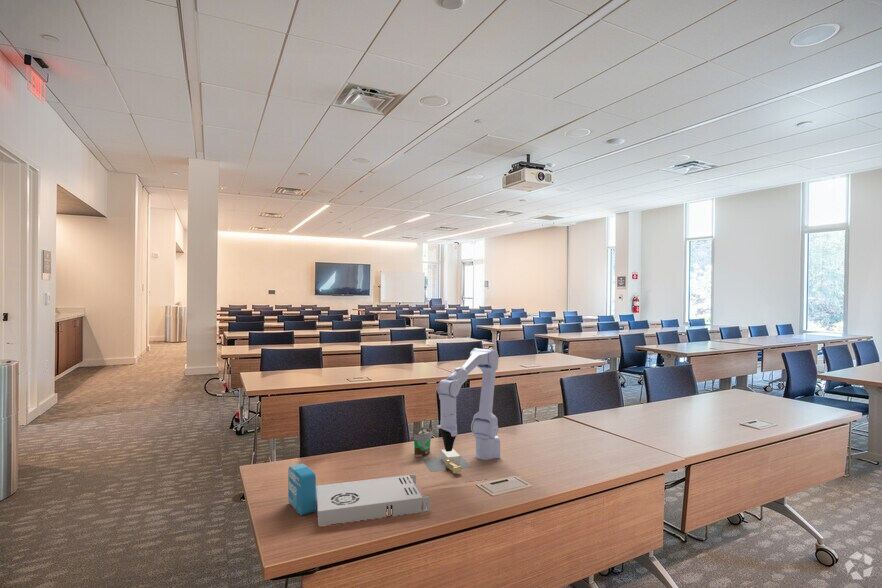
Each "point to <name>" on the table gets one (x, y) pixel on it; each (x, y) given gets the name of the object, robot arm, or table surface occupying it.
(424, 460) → the base plate
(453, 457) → the white rectangular block
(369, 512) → the power supply unit
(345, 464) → the table surface
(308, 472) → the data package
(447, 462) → the brass T-key
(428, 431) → the food container
